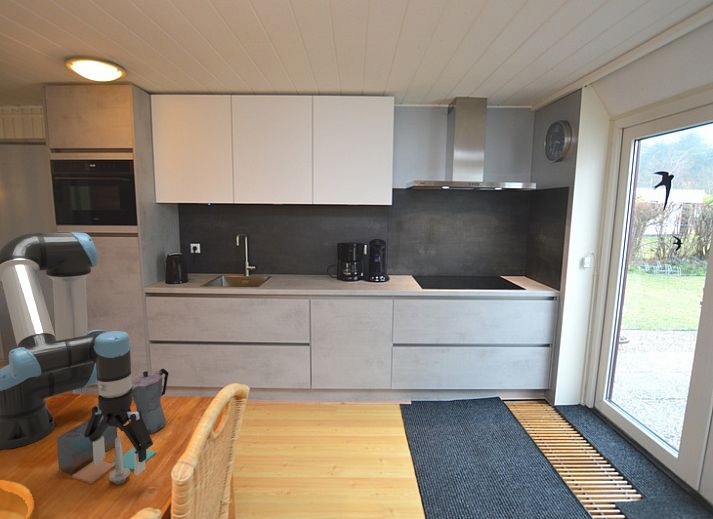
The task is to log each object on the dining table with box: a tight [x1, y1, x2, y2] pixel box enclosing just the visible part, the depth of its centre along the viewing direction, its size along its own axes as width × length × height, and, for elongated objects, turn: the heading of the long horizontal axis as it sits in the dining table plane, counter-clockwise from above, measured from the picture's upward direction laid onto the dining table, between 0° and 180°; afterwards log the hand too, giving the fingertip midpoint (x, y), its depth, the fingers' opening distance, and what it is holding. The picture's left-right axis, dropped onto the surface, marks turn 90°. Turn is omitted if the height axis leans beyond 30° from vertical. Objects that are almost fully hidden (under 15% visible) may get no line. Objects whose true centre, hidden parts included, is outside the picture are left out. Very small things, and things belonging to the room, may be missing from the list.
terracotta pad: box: [71, 460, 115, 484], centre depth 102 cm, size 7×7×1 cm
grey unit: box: [56, 415, 118, 476], centre depth 108 cm, size 5×14×10 cm, turn 165°
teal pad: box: [111, 446, 157, 472], centre depth 108 cm, size 8×8×1 cm
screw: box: [108, 435, 131, 485], centre depth 99 cm, size 13×5×5 cm
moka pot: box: [131, 368, 169, 435], centre depth 123 cm, size 10×15×20 cm, turn 166°
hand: (119, 466), depth 99 cm, fingers open, 13 cm apart
